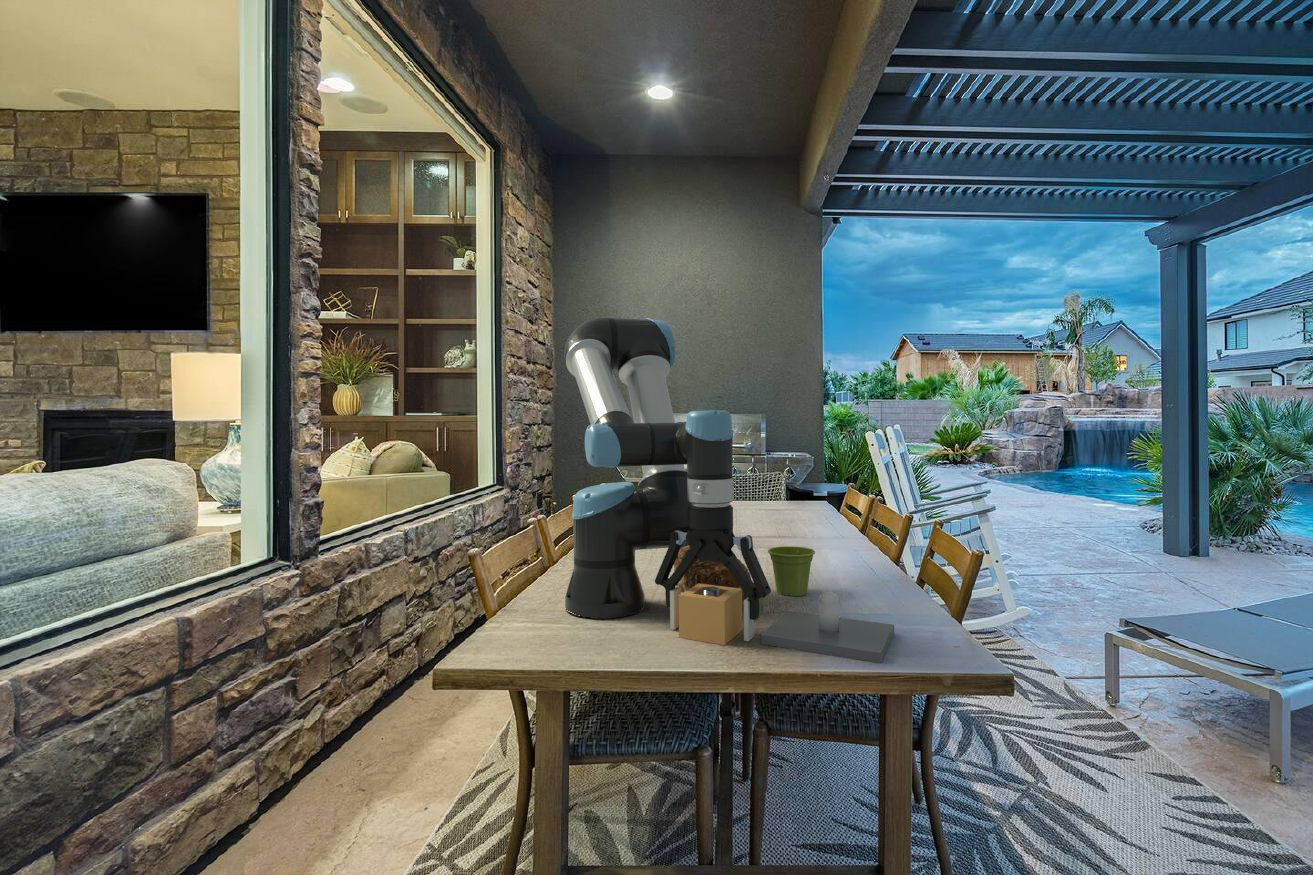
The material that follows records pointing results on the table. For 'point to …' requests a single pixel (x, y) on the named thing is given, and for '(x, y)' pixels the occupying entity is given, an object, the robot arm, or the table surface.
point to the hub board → (830, 633)
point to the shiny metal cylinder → (710, 591)
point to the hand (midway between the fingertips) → (711, 632)
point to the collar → (710, 614)
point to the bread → (707, 573)
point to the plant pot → (791, 569)
